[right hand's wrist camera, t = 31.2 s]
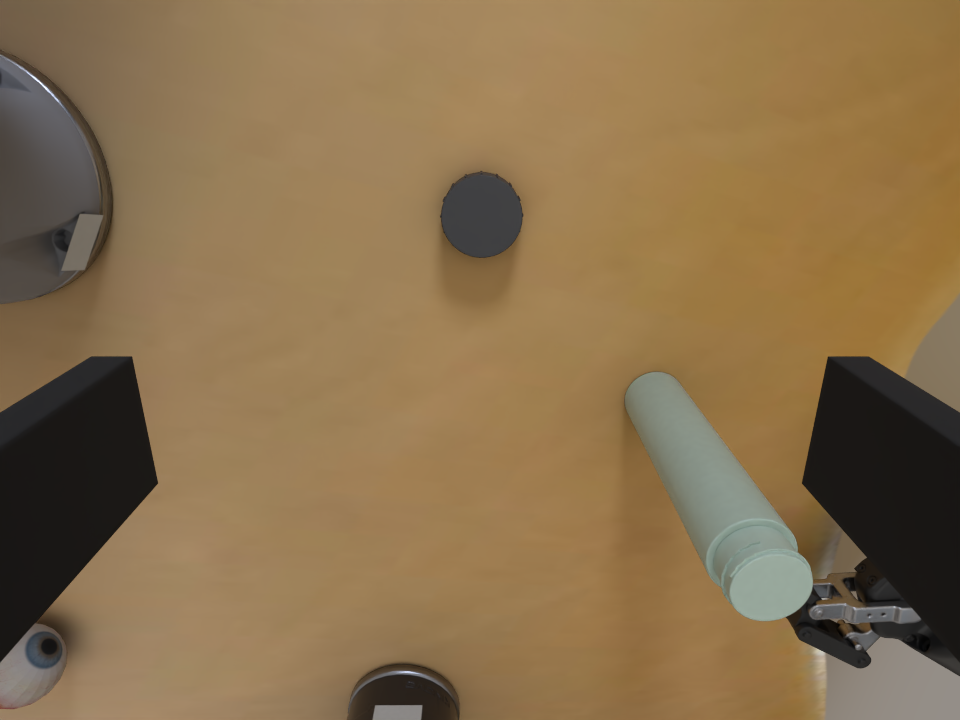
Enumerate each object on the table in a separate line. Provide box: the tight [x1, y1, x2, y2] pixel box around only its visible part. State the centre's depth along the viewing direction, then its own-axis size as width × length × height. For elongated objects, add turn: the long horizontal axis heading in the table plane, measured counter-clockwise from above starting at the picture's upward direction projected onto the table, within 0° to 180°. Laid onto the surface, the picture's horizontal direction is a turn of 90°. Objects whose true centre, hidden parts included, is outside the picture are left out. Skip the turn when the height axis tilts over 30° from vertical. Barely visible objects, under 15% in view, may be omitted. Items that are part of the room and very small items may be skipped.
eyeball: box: [0, 623, 67, 709], centre depth 49 cm, size 6×6×6 cm
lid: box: [440, 171, 523, 258], centre depth 39 cm, size 5×5×2 cm
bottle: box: [625, 372, 813, 621], centre depth 36 cm, size 4×4×19 cm
